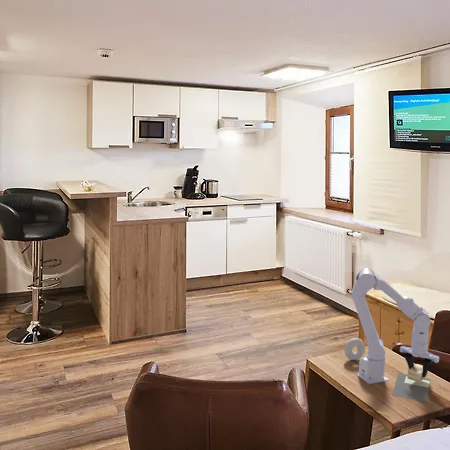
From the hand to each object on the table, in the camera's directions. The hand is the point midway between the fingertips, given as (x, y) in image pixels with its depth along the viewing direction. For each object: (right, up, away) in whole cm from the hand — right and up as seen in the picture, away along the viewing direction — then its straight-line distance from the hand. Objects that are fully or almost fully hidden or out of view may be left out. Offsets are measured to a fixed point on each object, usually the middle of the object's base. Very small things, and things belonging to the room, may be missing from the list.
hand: (417, 374), depth 186 cm
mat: (-4, -4, -3) cm, 6 cm away
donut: (-19, -1, +21) cm, 28 cm away
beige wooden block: (0, -1, 0) cm, 1 cm away
